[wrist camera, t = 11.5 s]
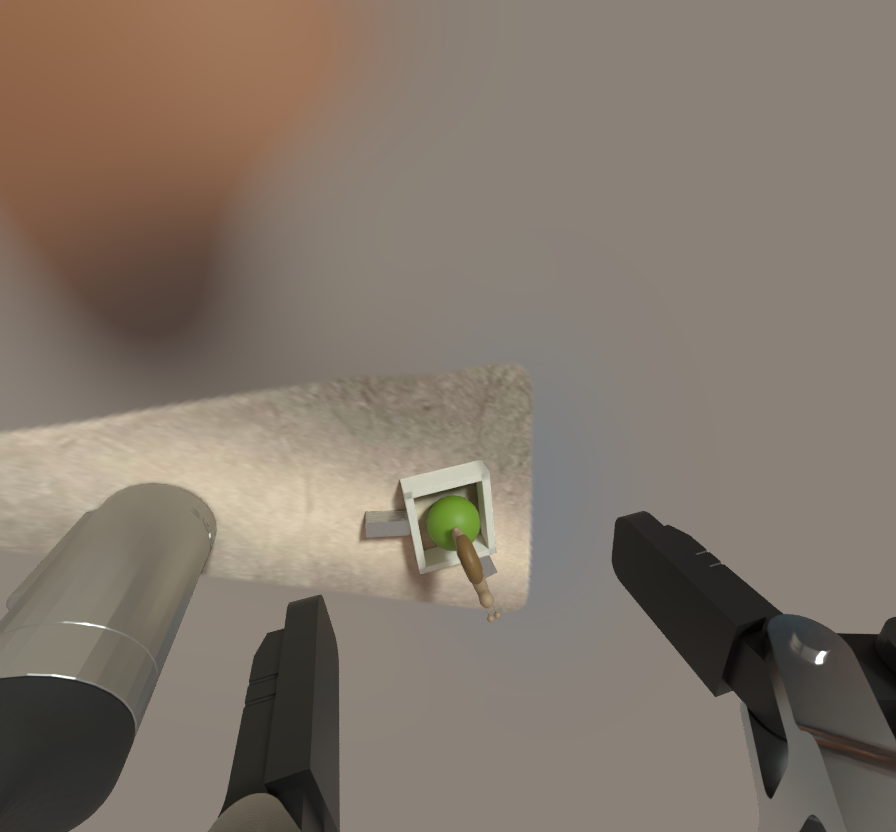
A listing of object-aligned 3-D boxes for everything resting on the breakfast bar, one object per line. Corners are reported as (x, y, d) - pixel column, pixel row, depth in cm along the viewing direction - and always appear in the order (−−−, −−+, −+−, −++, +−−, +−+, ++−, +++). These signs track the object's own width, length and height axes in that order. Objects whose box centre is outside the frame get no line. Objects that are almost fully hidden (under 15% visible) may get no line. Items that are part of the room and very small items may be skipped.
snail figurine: (435, 541, 45) (467, 635, 34) (414, 499, 42) (441, 587, 31) (479, 520, 45) (524, 607, 35) (461, 477, 42) (504, 556, 32)
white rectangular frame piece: (382, 596, 46) (385, 614, 44) (355, 490, 40) (356, 505, 38) (492, 564, 48) (499, 579, 46) (481, 459, 42) (490, 471, 40)
